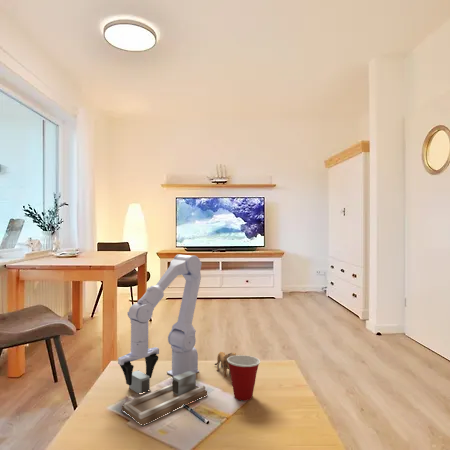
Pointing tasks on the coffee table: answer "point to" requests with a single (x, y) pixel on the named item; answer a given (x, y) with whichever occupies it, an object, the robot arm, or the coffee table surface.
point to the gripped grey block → (140, 382)
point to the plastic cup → (243, 375)
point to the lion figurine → (224, 362)
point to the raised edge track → (165, 398)
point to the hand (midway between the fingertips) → (139, 380)
